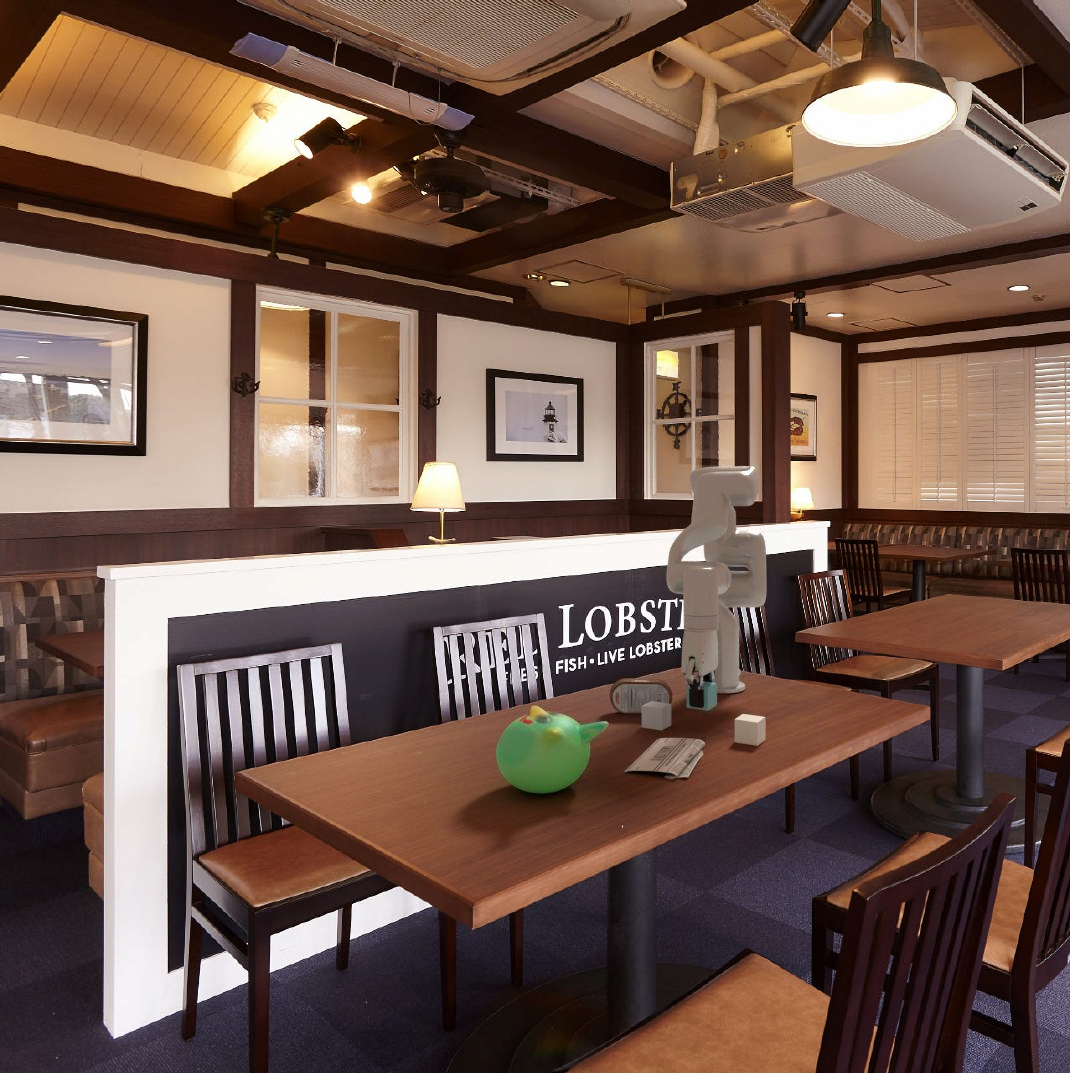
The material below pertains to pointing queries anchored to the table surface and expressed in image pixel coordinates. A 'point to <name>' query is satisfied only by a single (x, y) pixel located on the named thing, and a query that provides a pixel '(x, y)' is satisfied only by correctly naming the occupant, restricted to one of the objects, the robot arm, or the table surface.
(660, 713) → the grey block
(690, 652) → the robot arm
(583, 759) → the toy bird
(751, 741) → the cream block
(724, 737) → the table surface
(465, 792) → the table surface
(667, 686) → the tin
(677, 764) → the newspaper
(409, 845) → the table surface
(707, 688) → the teal block
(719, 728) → the table surface
